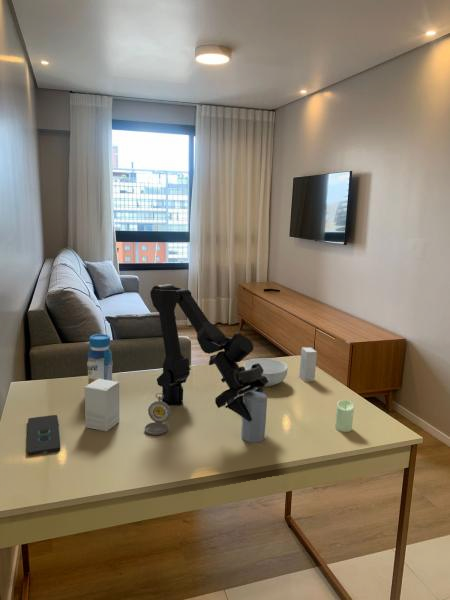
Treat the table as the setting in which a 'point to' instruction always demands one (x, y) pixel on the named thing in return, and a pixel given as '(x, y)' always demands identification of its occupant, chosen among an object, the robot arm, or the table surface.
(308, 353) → the skincare box
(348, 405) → the candle
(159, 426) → the pocket watch
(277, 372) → the cereal bowl
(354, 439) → the table surface
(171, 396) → the robot arm
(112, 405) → the supplement box
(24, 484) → the table surface
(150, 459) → the table surface
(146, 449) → the table surface
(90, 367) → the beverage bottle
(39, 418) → the smart home device
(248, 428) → the grey faceted canister
